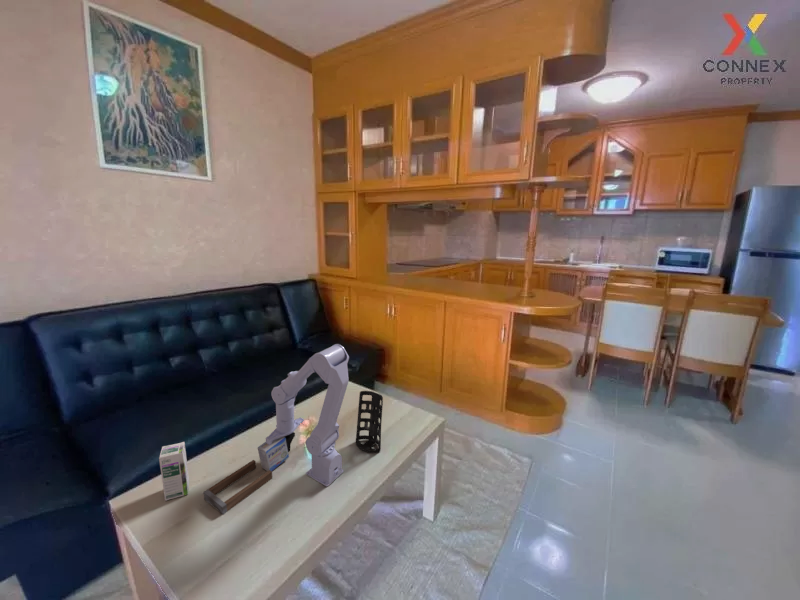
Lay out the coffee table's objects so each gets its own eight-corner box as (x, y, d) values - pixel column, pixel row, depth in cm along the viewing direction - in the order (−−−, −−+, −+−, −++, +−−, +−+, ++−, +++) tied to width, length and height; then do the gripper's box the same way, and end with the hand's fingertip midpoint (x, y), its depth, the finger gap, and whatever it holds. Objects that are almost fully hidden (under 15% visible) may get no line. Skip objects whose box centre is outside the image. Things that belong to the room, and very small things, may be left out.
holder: (349, 446, 121) (354, 395, 118) (359, 436, 128) (364, 387, 125) (376, 455, 117) (381, 403, 114) (385, 445, 124) (390, 395, 121)
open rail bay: (272, 478, 105) (272, 471, 105) (222, 514, 92) (222, 507, 91) (253, 466, 110) (253, 459, 109) (204, 499, 96) (203, 491, 96)
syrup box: (164, 501, 95) (158, 458, 92) (167, 487, 100) (161, 445, 97) (187, 495, 97) (182, 452, 94) (189, 481, 103) (184, 440, 99)
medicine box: (269, 473, 107) (265, 452, 104) (261, 467, 109) (256, 446, 107) (289, 457, 113) (285, 437, 110) (281, 452, 116) (277, 432, 113)
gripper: (294, 403, 120) (295, 436, 123) (259, 422, 108) (260, 458, 111) (307, 410, 117) (308, 443, 120) (273, 430, 105) (274, 467, 108)
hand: (286, 451), depth 115 cm, fingers closed, pressing on medicine box
